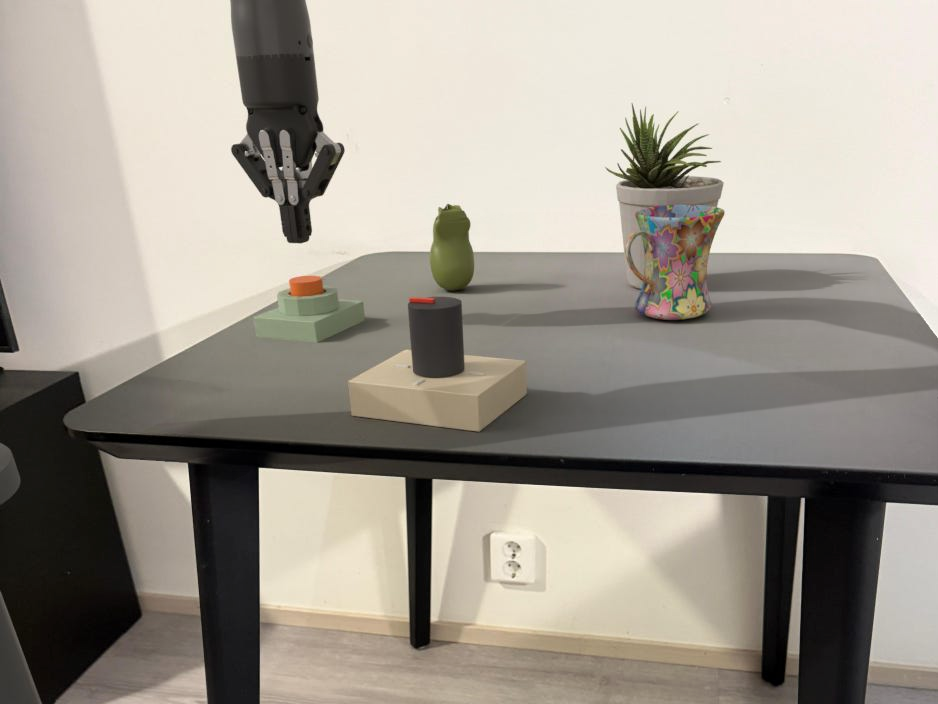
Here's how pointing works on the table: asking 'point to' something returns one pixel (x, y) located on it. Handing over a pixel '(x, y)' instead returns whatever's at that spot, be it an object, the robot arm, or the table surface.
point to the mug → (674, 259)
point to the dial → (436, 336)
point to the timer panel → (439, 392)
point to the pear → (451, 249)
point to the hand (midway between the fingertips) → (298, 241)
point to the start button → (306, 286)
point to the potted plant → (658, 182)
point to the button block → (309, 316)
